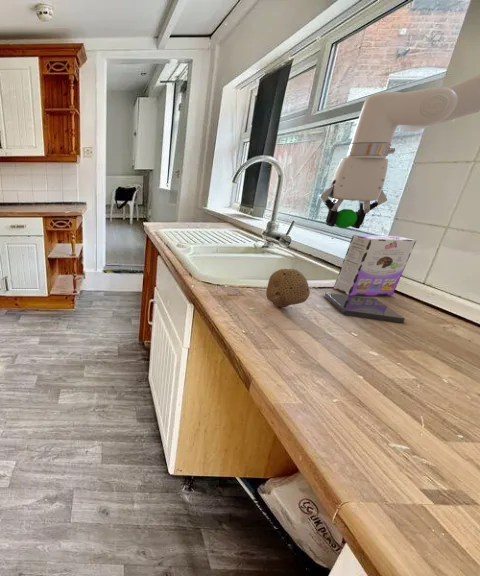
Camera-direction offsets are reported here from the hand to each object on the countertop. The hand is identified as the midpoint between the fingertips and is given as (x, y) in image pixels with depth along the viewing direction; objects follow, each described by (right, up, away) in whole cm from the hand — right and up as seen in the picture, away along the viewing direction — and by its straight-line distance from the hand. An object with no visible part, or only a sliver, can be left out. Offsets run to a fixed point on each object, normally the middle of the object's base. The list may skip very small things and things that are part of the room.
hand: (342, 226), depth 81 cm
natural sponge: (-19, -22, -5) cm, 29 cm away
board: (+2, -22, -3) cm, 22 cm away
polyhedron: (0, -1, 0) cm, 1 cm away
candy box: (+12, -18, +8) cm, 23 cm away
